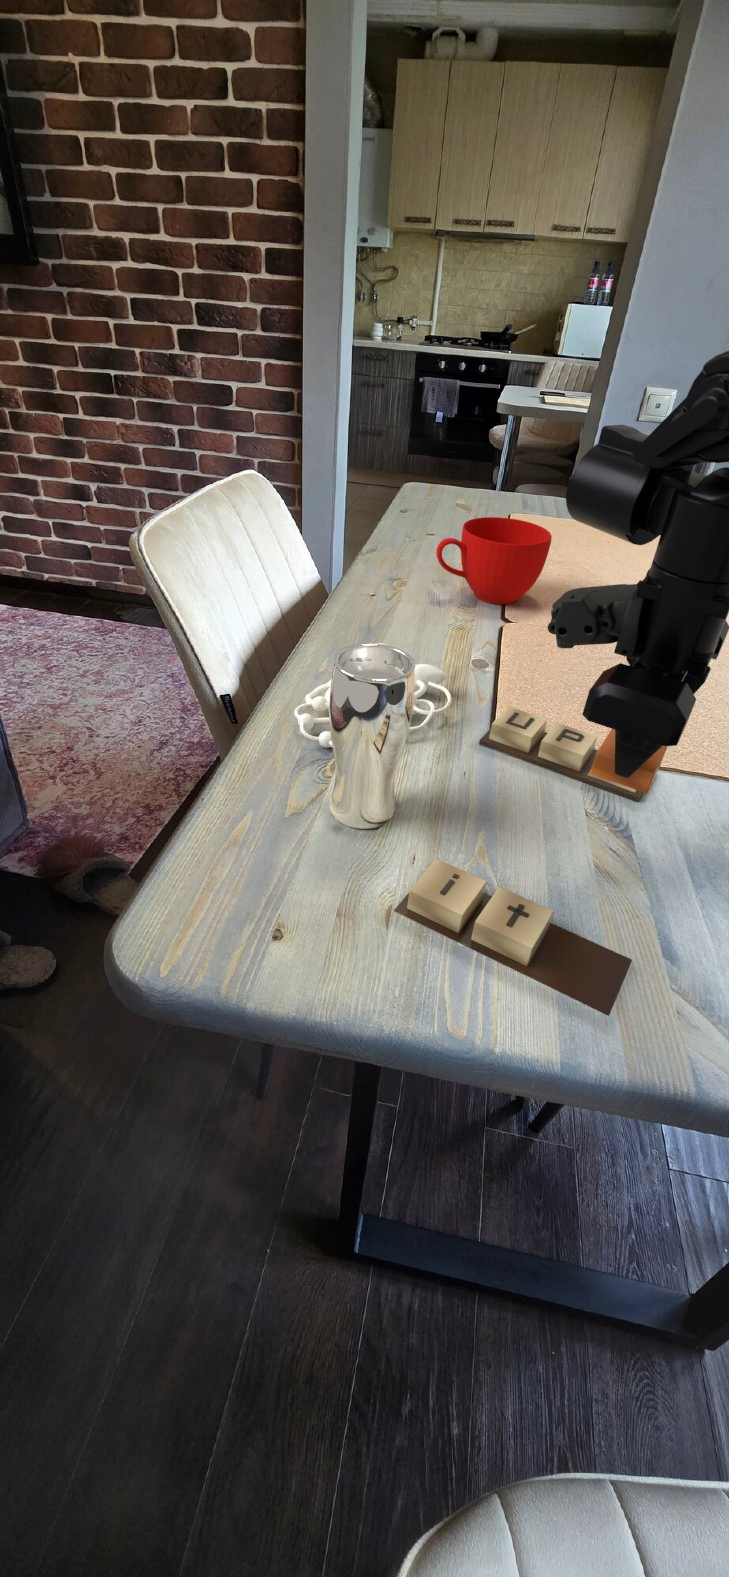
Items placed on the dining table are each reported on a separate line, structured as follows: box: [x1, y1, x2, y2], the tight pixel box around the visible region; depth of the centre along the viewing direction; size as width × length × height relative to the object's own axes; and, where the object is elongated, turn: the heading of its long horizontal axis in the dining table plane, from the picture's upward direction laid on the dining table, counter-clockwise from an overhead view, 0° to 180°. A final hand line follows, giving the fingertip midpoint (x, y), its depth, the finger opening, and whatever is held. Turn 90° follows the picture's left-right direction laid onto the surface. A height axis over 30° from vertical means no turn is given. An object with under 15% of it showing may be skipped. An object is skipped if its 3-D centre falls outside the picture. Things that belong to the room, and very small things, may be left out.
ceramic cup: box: [435, 516, 553, 605], centre depth 109 cm, size 13×17×10 cm
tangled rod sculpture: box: [293, 642, 453, 749], centre depth 81 cm, size 19×14×4 cm
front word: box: [393, 858, 633, 1017], centre depth 55 cm, size 17×6×3 cm, turn 58°
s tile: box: [590, 728, 668, 794], centre depth 58 cm, size 4×4×2 cm
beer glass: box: [328, 642, 416, 830], centre depth 63 cm, size 7×7×15 cm
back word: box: [478, 706, 644, 803], centre depth 76 cm, size 17×6×3 cm, turn 58°
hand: (629, 760), depth 58 cm, fingers closed on s tile, 4 cm apart
